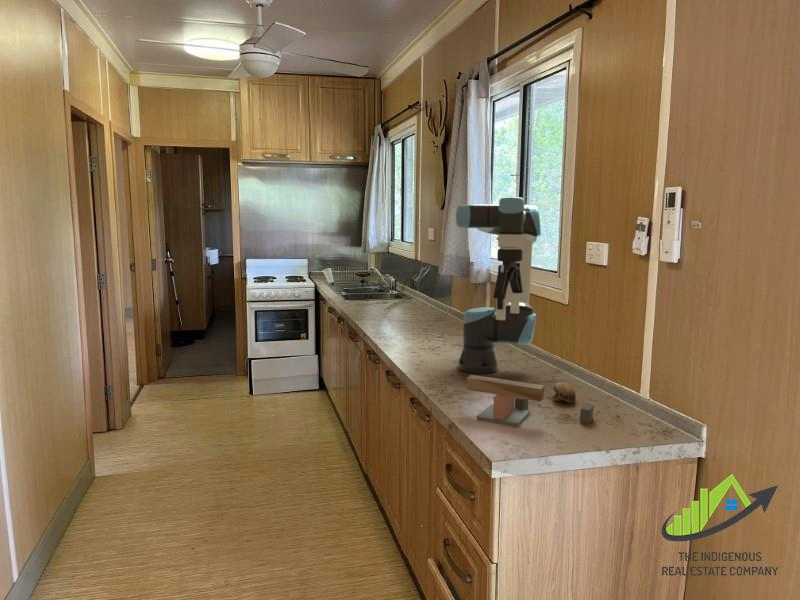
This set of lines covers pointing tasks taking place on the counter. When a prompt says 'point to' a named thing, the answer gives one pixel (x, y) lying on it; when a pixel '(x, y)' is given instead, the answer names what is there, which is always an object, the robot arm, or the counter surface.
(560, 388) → the mushroom
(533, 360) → the counter surface
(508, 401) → the fulcrum
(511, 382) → the rod
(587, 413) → the grey blocks
